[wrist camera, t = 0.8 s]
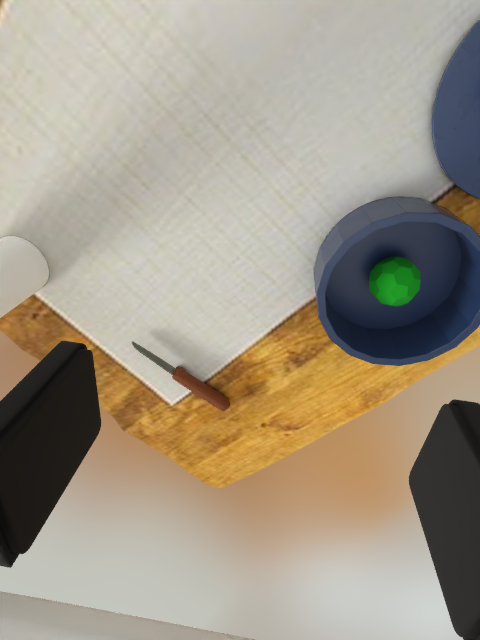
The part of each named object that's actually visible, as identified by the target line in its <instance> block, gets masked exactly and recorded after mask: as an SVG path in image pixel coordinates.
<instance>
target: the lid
mask: <svg viewBox="0 0 480 640" xmlns="http://www.w3.org/2000/svg"><path fill="white" fill-rule="evenodd" d="M432 137H433V144H434V148H435V152H436V155H437V158H438V160H439V163H440V165H441V167H442V169H443V170H444V172H445V173H446V175H447V176H448V177H449V178H450V179H451V181H452V182H453V183H454V184H455V185H456V186H458V187H459V188H460V189H462V190H463V191H465V192H466V193H468V194H470V195H472V196H474V197H476V198H479V199H480V20H479V21H478V22H477V23H476V24H475V25H474V26H473V28H472V29H471V30H470V31H469V32H468V34H467V35H466V36H465V38H464V39H463V40H462V42H461V43H460V44H459V46H458V48H457V49H456V51H455V53H454V54H453V56H452V58H451V59H450V61H449V63H448V65H447V67H446V70H445V72H444V74H443V76H442V79H441V82H440V84H439V87H438V90H437V94H436V98H435V102H434V107H433V115H432Z"/></svg>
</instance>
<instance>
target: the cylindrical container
mask: <svg viewBox="0 0 480 640" xmlns="http://www.w3.org/2000/svg"><path fill="white" fill-rule="evenodd" d="M48 278H49V268H48V264H47V262H46V259H45V258H44V256H43V254H42V253H41V252H40V251H39V250H38V248H36V247H35V246H34V245H33V244H32V243H30V242H29V241H27V240H25V239H23V238H20V237H16V236H5V237H3V238H0V318H1V317H2V316H4V315H5V314H7V313H8V312H9V311H11V310H12V309H13V308H15V307H16V306H18V305H19V304H20V303H22V302H23V301H24V300H26V299H27V298H29V297H30V296H31V295H33V294H34V293H35V292H37V291H38V290H40V289H41V288H42V287H44V285H45V284H46V283H47V281H48Z"/></svg>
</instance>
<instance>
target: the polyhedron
mask: <svg viewBox="0 0 480 640" xmlns="http://www.w3.org/2000/svg"><path fill="white" fill-rule="evenodd" d="M419 290H420V271H419V270H418V269H417V267H416V266H415V265H414V264H413V263H412V262H411V261H409V260H408V259H406V258H401V257H389V258H386V259H384V260H381V261H379V262H378V263H377V264H376V265H375V267H374V268H373V269H372V271H371V272H370V277H369V291H370V292H371V293H372V294H373V296H374V297H375V298H376V299H377V300H378V301H379V302H380V303H381V304H385V305H390V306H397V307H398V306H401V305H404V304H407V303H409V302H410V301H411V299H412V298H413V297H414V296H415V295H416V294H417V292H418V291H419Z"/></svg>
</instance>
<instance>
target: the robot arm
mask: <svg viewBox="0 0 480 640" xmlns="http://www.w3.org/2000/svg"><path fill="white" fill-rule="evenodd" d="M100 427H101V417H100V410H99V401H98V393H97V385H96V377H95V369H94V361H93V354H92V352H91V350H87V347H86V345H85V344H82V343H76V342H69V341H61V342H60V343H59V344H58V345H57V346H56V347H55V348H54V349H53V350H52V351H51V352H50V353H49V354H48V355H47V356H46V357H44V358H43V359H42V360H41V361H40V362H39V363H38V364H37V366H35V368H34V369H32V370H31V371H30V372H29V373H28V375H26V376H25V377H24V378H23V379H22V381H20V382H19V383H18V384H17V385H16V386H15V387H14V388H13V389H12V390H11V391H10V392H9V393H8V394H7V395H6V396H5V397H4V398H3V399H2V400H1V401H0V566H5V567H12V565H13V563H14V562H15V560H16V558H17V557H18V555H19V554H24V553H25V552H26V551H27V550H28V549H29V548H30V547H31V545H32V543H33V542H34V540H35V538H36V537H37V535H38V533H39V532H40V530H41V528H42V527H43V525H44V524H45V522H46V520H47V519H48V517H49V515H50V514H51V512H52V510H53V509H54V507H55V505H56V504H57V502H58V500H59V499H60V497H61V495H62V494H63V492H64V490H65V489H66V487H67V485H68V484H69V482H70V480H71V479H72V477H73V475H74V474H75V472H76V470H77V469H78V467H79V465H80V464H81V462H82V460H83V459H84V457H85V456H86V454H87V452H88V450H89V449H90V447H91V445H92V444H93V442H94V441H95V439H96V437H97V435H98V434H99V431H100ZM409 485H410V489H411V492H412V495H413V499H414V502H415V505H416V508H417V511H418V515H419V518H420V521H421V524H422V527H423V531H424V534H425V537H426V540H427V543H428V547H429V550H430V554H431V557H432V560H433V563H434V566H435V570H436V573H437V576H438V579H439V583H440V586H441V589H442V592H443V596H444V598H445V602H446V605H447V608H448V612H449V615H450V618H451V621H452V624H453V627H454V630H455V631H456V633H457V634H458V635H459V636H460V637H463V639H464V640H480V404H478V403H474V402H467V401H461V400H452V401H451V402H450V403H449V404H444V405H443V406H442V407H441V409H440V411H439V413H438V415H437V418H436V420H435V422H434V424H433V426H432V428H431V430H430V432H429V434H428V436H427V438H426V440H425V442H424V445H423V447H422V449H421V451H420V453H419V455H418V457H417V459H416V461H415V463H414V465H413V467H412V470H411V472H410V475H409ZM0 640H254V639H248V638H244V637H239V636H233V635H228V634H223V633H217V632H213V631H208V630H202V629H197V628H193V627H187V626H182V625H177V624H172V623H167V622H162V621H157V620H151V619H146V618H141V617H135V616H130V615H125V614H119V613H114V612H109V611H104V610H99V609H93V608H88V607H83V606H78V605H72V604H67V603H61V602H57V601H51V600H46V599H41V598H35V597H29V596H23V595H17V594H11V593H5V592H0Z"/></svg>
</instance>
